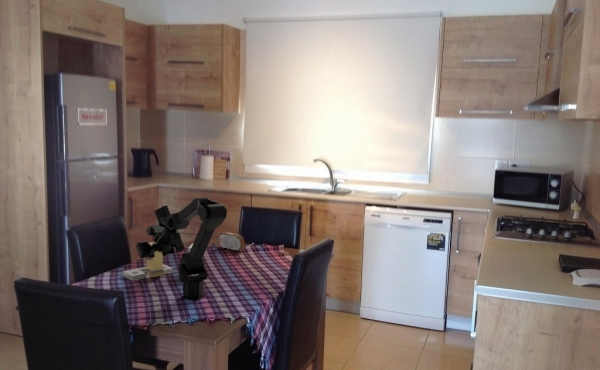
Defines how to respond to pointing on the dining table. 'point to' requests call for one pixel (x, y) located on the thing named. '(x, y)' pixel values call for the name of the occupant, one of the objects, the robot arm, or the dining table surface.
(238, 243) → the bread slice
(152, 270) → the gold block
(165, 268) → the bracket
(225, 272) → the dining table surface
